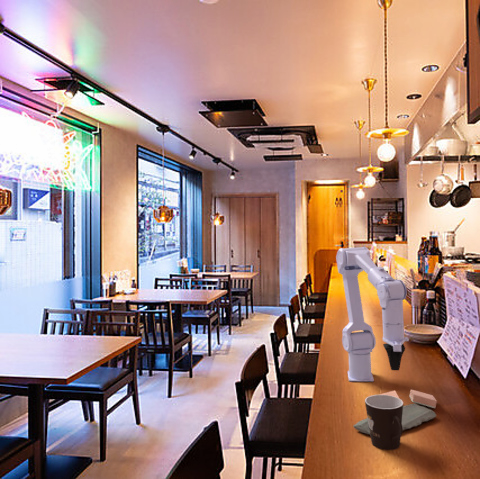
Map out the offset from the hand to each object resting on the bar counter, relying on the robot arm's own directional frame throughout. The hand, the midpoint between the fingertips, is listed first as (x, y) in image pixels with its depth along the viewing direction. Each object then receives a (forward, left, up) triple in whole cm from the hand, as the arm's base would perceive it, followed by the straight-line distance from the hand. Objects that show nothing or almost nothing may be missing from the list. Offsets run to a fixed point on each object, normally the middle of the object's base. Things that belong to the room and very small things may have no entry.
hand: (395, 369), depth 128 cm
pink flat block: (-1, +7, -8) cm, 10 cm away
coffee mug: (+26, -6, -10) cm, 29 cm away
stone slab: (+14, -2, -10) cm, 17 cm away
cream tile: (0, -3, -8) cm, 8 cm away
